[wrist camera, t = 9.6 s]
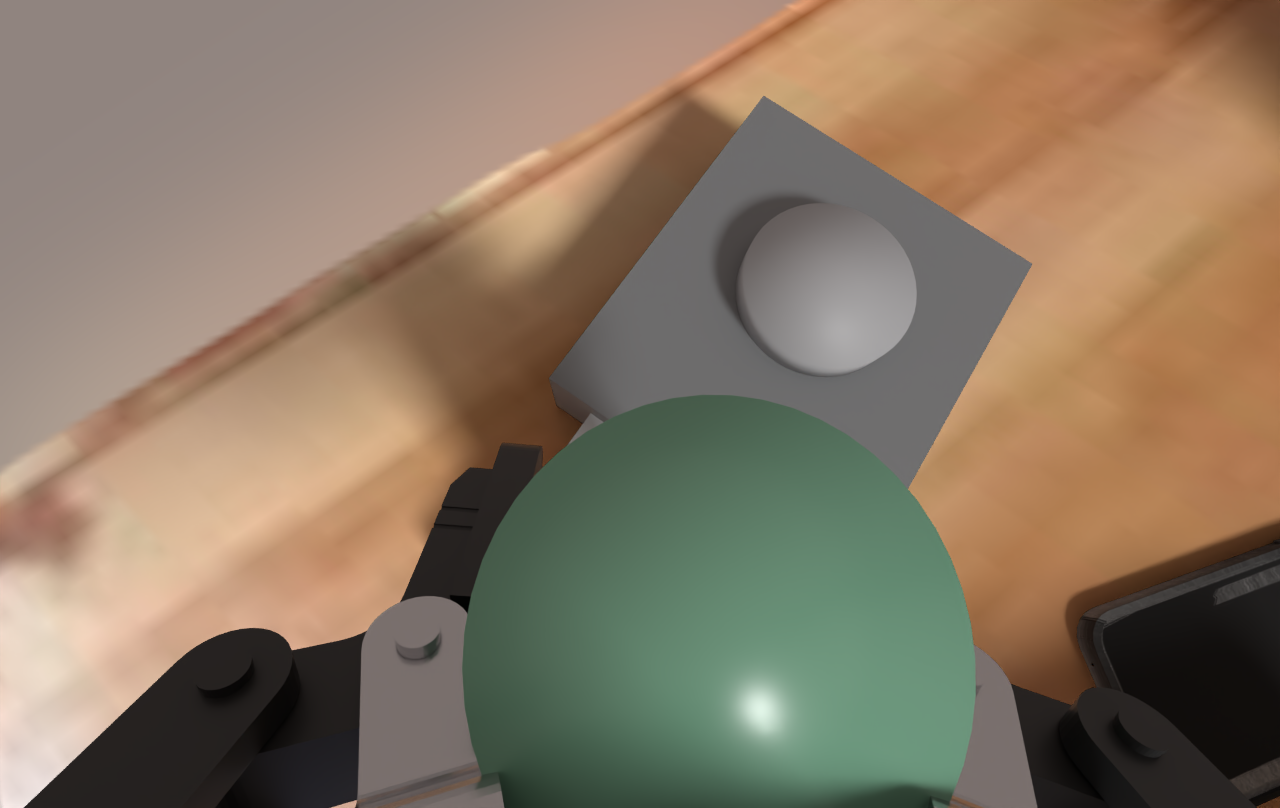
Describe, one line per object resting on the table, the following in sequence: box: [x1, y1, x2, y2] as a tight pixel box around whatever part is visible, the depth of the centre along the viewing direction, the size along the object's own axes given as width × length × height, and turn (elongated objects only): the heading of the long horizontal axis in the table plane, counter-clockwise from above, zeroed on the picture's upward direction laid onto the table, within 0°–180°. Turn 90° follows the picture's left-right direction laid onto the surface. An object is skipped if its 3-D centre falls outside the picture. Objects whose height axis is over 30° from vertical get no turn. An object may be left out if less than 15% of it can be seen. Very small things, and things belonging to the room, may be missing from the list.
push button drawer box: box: [549, 96, 1032, 489], centre depth 22 cm, size 22×12×5 cm, turn 146°
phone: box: [1077, 539, 1280, 806], centre depth 23 cm, size 8×1×15 cm
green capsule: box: [462, 395, 976, 808], centre depth 11 cm, size 5×5×10 cm
